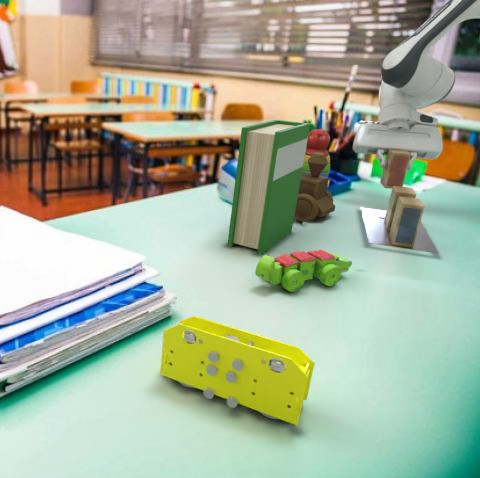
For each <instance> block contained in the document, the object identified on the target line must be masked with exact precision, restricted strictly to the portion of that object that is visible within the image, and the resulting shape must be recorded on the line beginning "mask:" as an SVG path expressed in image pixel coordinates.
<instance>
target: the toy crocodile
mask: <svg viewBox="0 0 480 478" xmlns="http://www.w3.org/2000/svg"><path fill="white" fill-rule="evenodd" d="M352 265H353V261H352V260H350V259H348V258H345V257H343V256H341V255H338V254H335V253H331V252H329V251H327V250H326V249H314V250H309V251H307V252H306V251H304V250H301V251H293V252H290V254H289V255H288V254H287V253H283V254H281V255H280V256H276V257H272V256H270V255H268V254H263V255H262V257H261V258H260V259H259V260H258V262H257V264H256V266H255V272H254V273H255V276H257V277H258V278H259V279H262V280H264V281H266V282H268V283H270V284H272V285H278V284H281V286H282V287H283V289H285V290H286V291H288V292H290V293H296V292H297V291H300V290H301V289H302V287H303V285H304V283H305V281H307V280H312V279H313V278H314V277H315V278H317V279H319V281H320V282H321V284H323V285H325V286H327V287H333V286H335V285H336V284H337V283H338V282H339V280H340V279H341V276H342V273H347V272H348V271H349V269H350V267H352Z"/></svg>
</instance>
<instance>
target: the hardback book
mask: <svg viewBox="0 0 480 478" xmlns="http://www.w3.org/2000/svg"><path fill="white" fill-rule="evenodd" d="M310 126H311V123H309V122H300V121H293V120H291V121H290V120H283V119H282V120H281V119H273V120H269V121H264V122H260V123H256V124H251V125H246V126H243V127H241V131H240V140H239V147H238V154H237V155H238V156H237V164H236V171H235V180H234V189H233V194H232V202H231V203H232V204H231V212H230V221H229V227H228V228H229V229H228V235H227V236H228V237H227V242H226V243H227V244H226V246H227V247H231V248H232V247H234V245H239V246H244V247H247V248H251V249H255V250H257V252H256V255H261V256H263V255H265V253H267V251H269V250H270V249H272V248H273V247H274V246H276V245H277V244H278V243H279V242H281V241H282V240H283V239H285V238H286V237H287V236H289V235H290V234H291V233H292V232H293V227H294V220H295V219H294V215H295V209H296V203H297V198H298V192H299V186H300V180H301V174H302V169H303V163H304V157H305V151H306V146H307V140H308V134H309V132H310V128H311V127H310Z"/></svg>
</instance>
